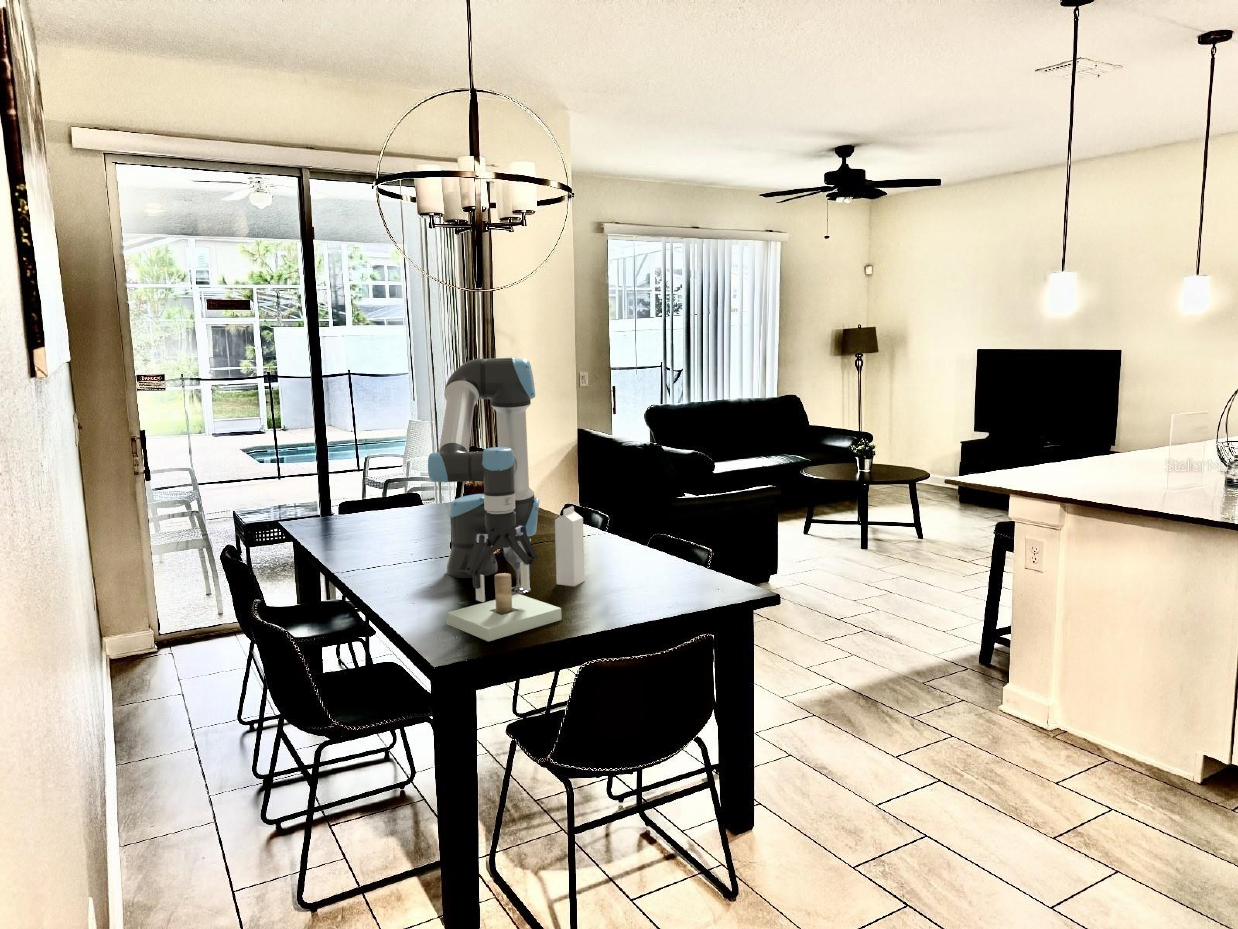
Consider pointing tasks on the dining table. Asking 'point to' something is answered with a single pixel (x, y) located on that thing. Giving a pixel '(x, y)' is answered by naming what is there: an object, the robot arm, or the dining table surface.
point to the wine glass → (515, 565)
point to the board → (503, 618)
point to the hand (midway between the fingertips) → (503, 594)
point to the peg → (503, 593)
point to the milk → (569, 548)
